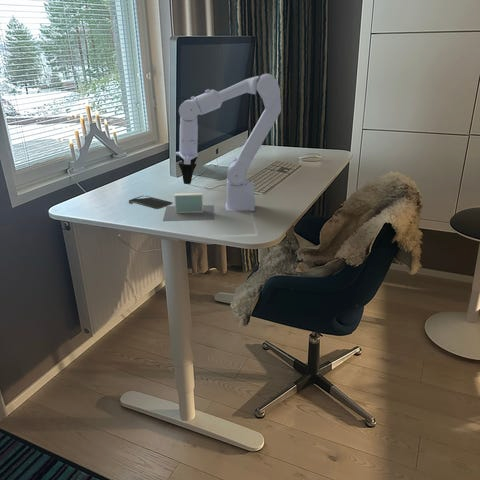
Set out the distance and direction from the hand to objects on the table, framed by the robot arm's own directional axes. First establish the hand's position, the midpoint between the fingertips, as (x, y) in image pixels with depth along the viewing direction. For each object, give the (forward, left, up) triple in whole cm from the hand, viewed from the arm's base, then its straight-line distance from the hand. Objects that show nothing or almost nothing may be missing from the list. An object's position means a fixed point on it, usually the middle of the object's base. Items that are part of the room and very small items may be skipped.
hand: (187, 180), depth 151 cm
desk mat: (0, +6, -10) cm, 12 cm away
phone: (+14, -6, -10) cm, 18 cm away
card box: (0, +6, -9) cm, 11 cm away
